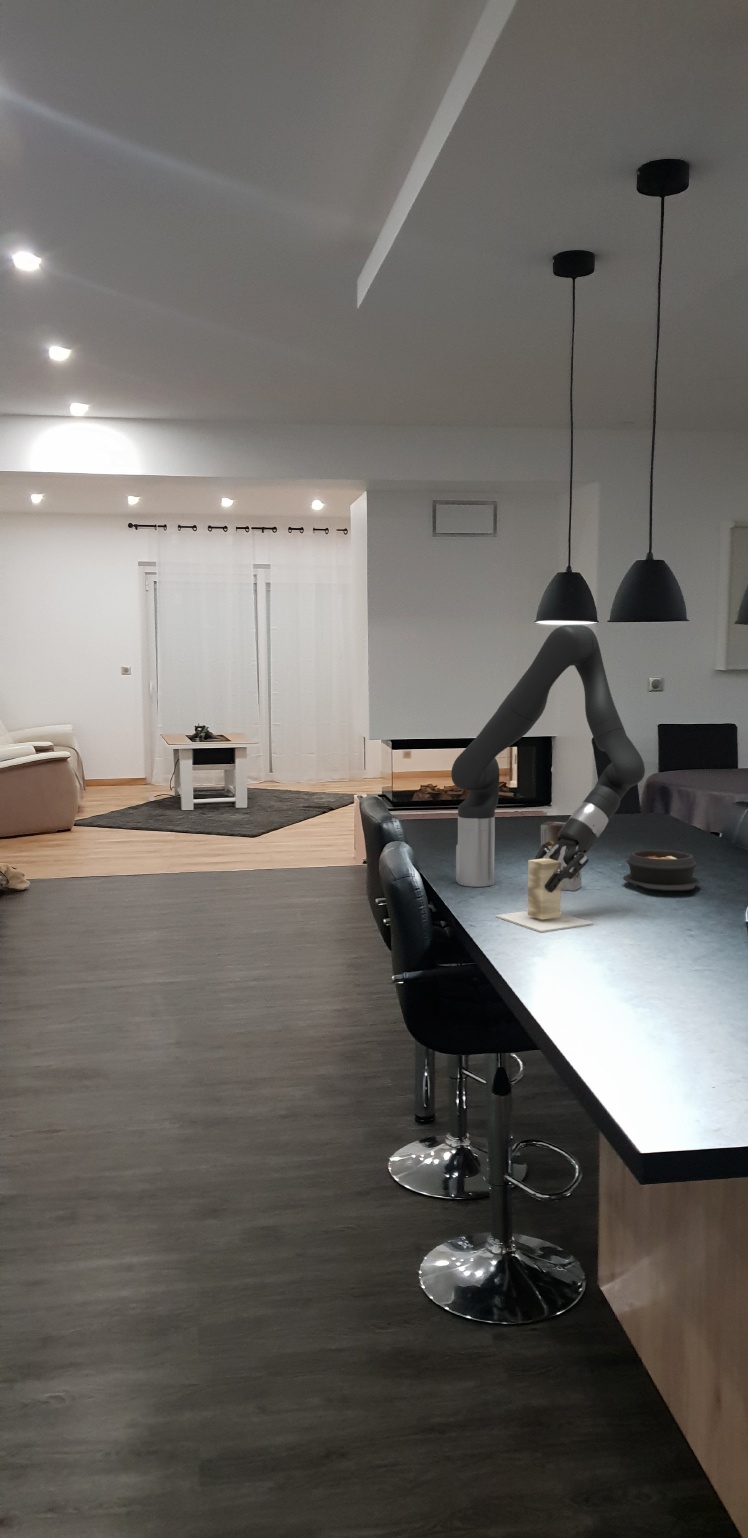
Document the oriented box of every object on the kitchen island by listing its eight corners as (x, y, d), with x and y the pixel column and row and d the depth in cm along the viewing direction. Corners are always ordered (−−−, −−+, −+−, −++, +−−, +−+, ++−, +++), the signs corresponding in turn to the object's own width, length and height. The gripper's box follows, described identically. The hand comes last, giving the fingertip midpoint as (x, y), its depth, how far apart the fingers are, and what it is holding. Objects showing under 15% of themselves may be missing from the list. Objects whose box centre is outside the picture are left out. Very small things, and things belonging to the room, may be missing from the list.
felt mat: (495, 917, 233) (495, 915, 233) (546, 909, 240) (546, 908, 240) (541, 932, 219) (541, 930, 219) (593, 924, 226) (593, 922, 226)
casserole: (711, 898, 252) (712, 863, 251) (631, 897, 253) (632, 862, 253) (687, 878, 277) (688, 846, 276) (615, 877, 278) (616, 845, 278)
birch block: (527, 914, 231) (528, 860, 229) (545, 912, 233) (546, 858, 232) (542, 919, 226) (542, 863, 225) (560, 916, 229) (561, 861, 228)
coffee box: (582, 886, 266) (583, 823, 264) (574, 891, 260) (576, 826, 258) (547, 883, 270) (548, 820, 268) (539, 888, 264) (539, 824, 263)
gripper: (553, 813, 238) (509, 871, 233) (596, 821, 225) (550, 882, 221) (571, 834, 241) (528, 892, 236) (614, 843, 228) (570, 904, 224)
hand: (539, 887), depth 228 cm, fingers open, 5 cm apart
